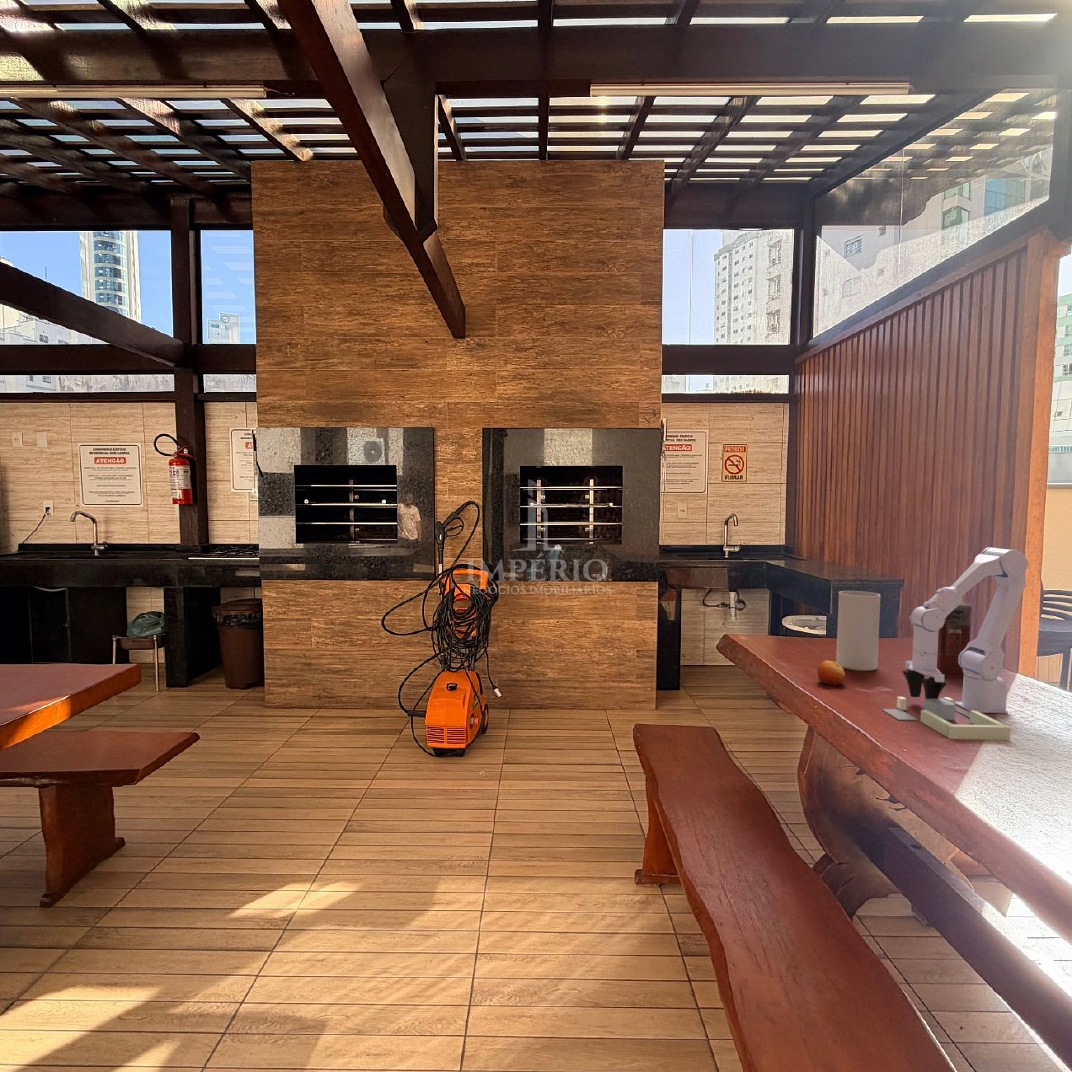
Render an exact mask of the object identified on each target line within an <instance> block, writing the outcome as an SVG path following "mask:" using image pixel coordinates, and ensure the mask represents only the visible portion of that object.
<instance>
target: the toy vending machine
mask: <svg viewBox="0 0 1072 1072" xmlns="http://www.w3.org/2000/svg"><path fill="white" fill-rule="evenodd" d="M971 623H972V606H971V605H969V604H967V603H965V602H962V603H960V604H959V605H958V606H957V607H956V608H955V609H954V610H953V611H952V612H951V613H950V614H949V615H947V616H946V618H945V622H944V625H943V627H942V628H940V629H939V632H938V652H937V669H938V670H939V671H940V672H941V673H942V674H943V675H944V678H945V677H949V678H950V677H951V678H963V677H964V673H963V668H962V667H961V666H960V665H959V662H958V657H959V655H960V653H961V652H962V651H963V650H964V649H965V648H966V646H967V644H968V643H969V642H970V641H971V627H972V624H971Z"/></svg>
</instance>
